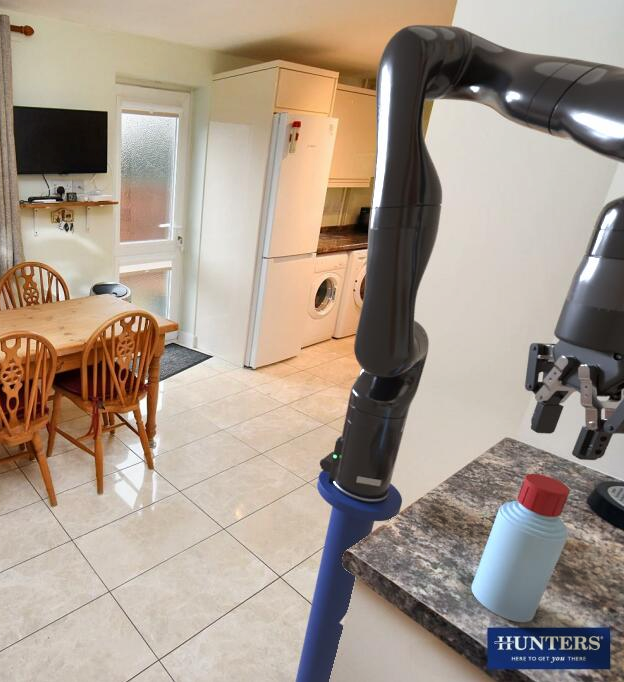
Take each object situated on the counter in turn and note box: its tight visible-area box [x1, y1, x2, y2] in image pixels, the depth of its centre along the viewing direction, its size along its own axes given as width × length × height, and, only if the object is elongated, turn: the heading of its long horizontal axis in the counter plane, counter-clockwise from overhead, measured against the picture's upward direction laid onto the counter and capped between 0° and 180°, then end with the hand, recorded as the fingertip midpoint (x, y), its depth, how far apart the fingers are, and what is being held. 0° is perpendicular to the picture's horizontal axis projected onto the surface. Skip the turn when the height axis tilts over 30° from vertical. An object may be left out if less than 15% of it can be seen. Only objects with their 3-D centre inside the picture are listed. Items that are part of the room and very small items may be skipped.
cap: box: [516, 473, 571, 517], centre depth 54 cm, size 4×4×3 cm
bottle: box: [471, 499, 569, 623], centre depth 56 cm, size 6×6×18 cm
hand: (562, 443), depth 51 cm, fingers open, 5 cm apart
